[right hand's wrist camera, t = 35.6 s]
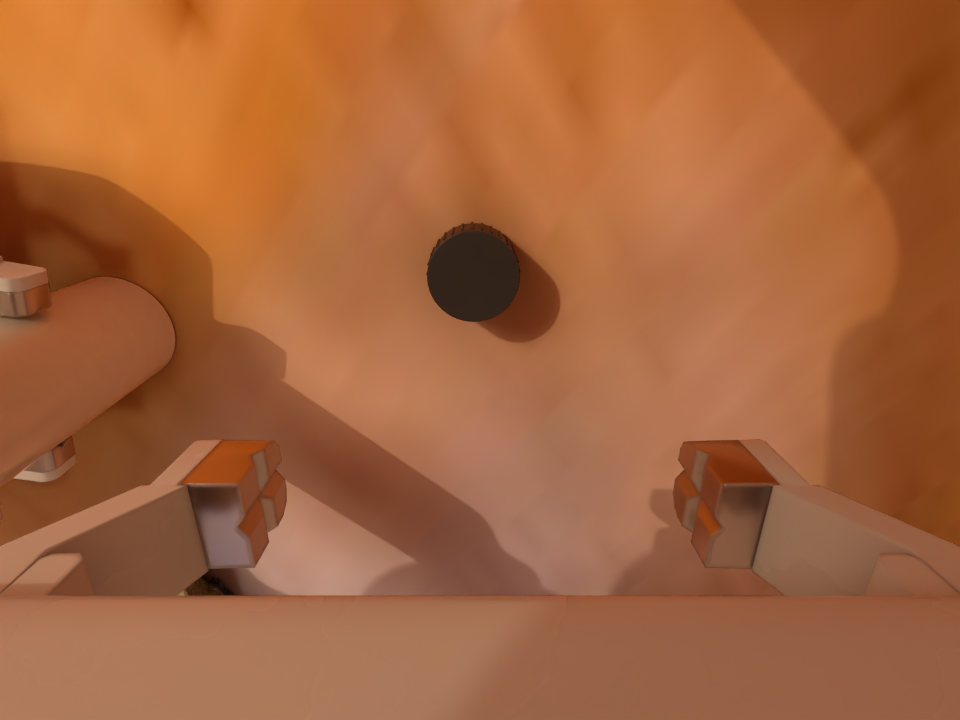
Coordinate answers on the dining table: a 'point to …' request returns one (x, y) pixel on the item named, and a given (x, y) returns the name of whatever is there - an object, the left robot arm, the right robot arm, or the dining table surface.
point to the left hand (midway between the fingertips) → (52, 381)
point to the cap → (473, 272)
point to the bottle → (75, 363)
